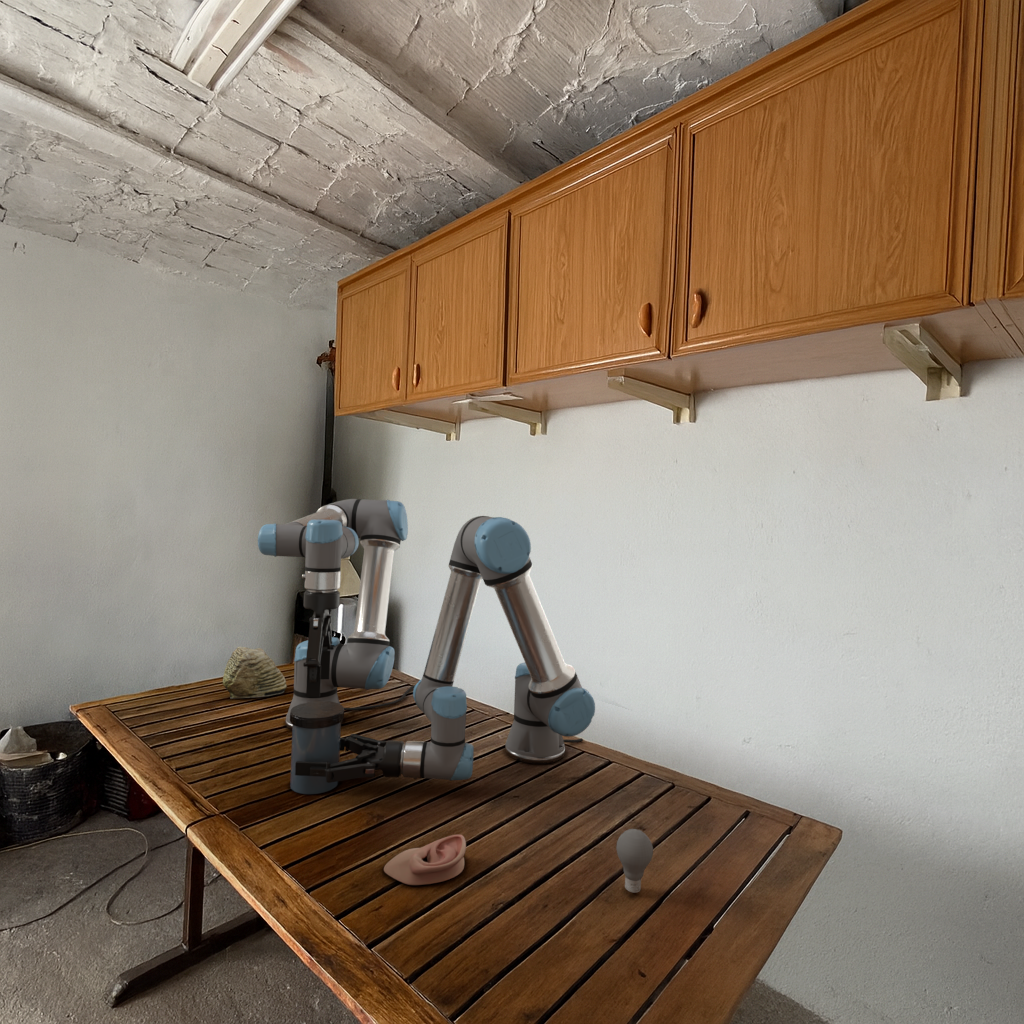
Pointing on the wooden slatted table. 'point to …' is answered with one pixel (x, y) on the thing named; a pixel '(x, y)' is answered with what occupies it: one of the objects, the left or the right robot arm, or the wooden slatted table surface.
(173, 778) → the wooden slatted table surface
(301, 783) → the jar
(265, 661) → the fossil
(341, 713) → the lid
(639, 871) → the light bulb
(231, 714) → the wooden slatted table surface
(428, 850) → the anatomical model
